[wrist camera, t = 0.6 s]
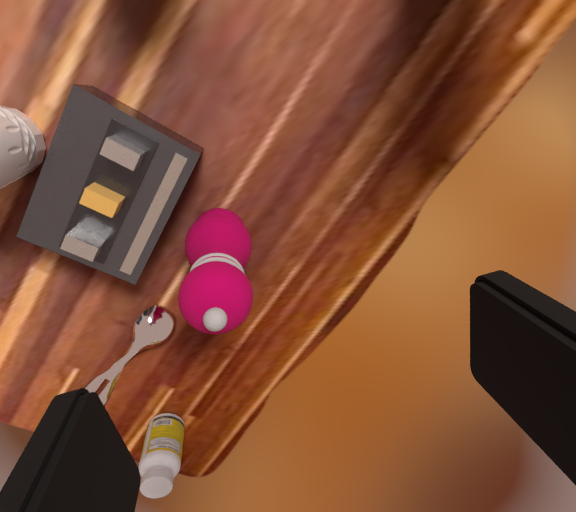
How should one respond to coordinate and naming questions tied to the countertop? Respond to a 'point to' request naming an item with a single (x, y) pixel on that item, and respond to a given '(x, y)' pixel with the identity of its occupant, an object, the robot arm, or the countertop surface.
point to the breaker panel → (107, 184)
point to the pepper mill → (216, 273)
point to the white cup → (18, 145)
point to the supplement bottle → (161, 455)
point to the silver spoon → (138, 344)
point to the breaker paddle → (102, 200)
